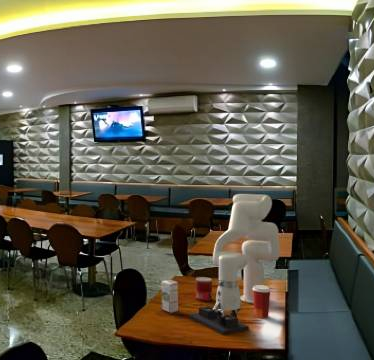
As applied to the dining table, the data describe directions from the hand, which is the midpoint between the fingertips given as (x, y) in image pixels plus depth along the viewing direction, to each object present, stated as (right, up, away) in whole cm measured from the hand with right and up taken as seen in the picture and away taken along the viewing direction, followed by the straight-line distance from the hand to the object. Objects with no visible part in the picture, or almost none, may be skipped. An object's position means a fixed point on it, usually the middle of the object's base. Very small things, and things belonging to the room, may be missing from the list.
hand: (227, 323), depth 195 cm
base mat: (-2, -2, +6) cm, 6 cm away
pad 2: (0, -1, 0) cm, 1 cm away
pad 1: (-4, 0, +11) cm, 12 cm away
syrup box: (-19, -1, +24) cm, 31 cm away
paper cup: (+22, -1, +14) cm, 26 cm away
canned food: (+4, 0, +40) cm, 40 cm away
